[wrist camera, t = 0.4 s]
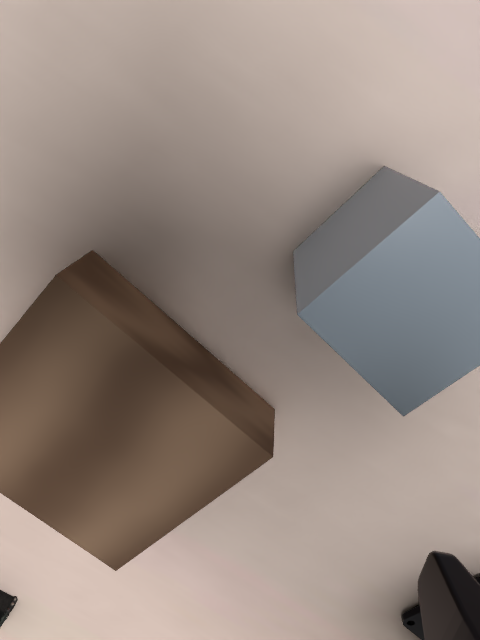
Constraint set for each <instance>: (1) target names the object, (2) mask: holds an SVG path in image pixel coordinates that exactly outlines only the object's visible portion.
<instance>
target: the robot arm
mask: <svg viewBox="0 0 480 640" xmlns="http://www.w3.org/2000/svg"><path fill="white" fill-rule="evenodd" d="M418 595H419V602H420V605H419V606H417V607H415V608H413V609H411V610H409V611H407V612H405V613H403V614H402V616H401V618H402V622H403V625H404V626H405V627H406V628H407V629H409V630H410V631H411V632H413V633H414V634H415V635H416V636H418V637H419V638H420V639H421V640H480V577H478V578H476V579H475V578H474V577H473V576H472V575H471V574H470V573H469V572H468V570H467V569H466V568H465V567H464V566H463V565H462V563H461V562H460V561H459V560H458V559H457V558H456V557H455V556H454V555H452V554H449V553H443V552H437V551H432V552H431V553H429V555H428V557H427V559H426V562H425V564H424V567H423V569H422V571H421V574H420V576H419V579H418Z"/></svg>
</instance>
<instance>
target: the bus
mask: <svg viewBox="0 0 480 640" xmlns="http://www.w3.org/2000/svg"><path fill="white" fill-rule="evenodd" d="M17 600H18V599H17V597H16V596H14V597H13V596H11V595H9V594H7V593H5V592H3V591H1V590H0V627H1V626H2V624H3V622H4V621H5V620H6V619H7V618H6V617H8V616H9V613H10V612H11V611H12V609H13V607H14V606H15V604H16V602H17ZM7 615H8V616H7Z"/></svg>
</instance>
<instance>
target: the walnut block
mask: <svg viewBox="0 0 480 640" xmlns="http://www.w3.org/2000/svg"><path fill="white" fill-rule="evenodd" d="M274 418H275V409H274V408H273V407H272V406H270V405H269V404H268V403H267V402H266V401H265V400H264V399H262V398H261V397H260V396H259V395H258V394H257V393H256V392H254V391H253V390H252V389H251V388H250V387H249V386H248V385H246V384H245V383H244V382H243V381H242V380H241V379H240V378H238V377H237V376H236V375H235V374H234V373H233V372H232V371H230V370H229V369H228V368H227V367H226V366H225V365H224V364H222V363H221V362H220V361H219V360H218V359H217V358H216V357H214V356H213V355H212V354H211V353H210V352H209V351H208V350H206V349H205V348H204V347H203V346H202V345H201V344H200V343H198V342H197V341H196V340H195V339H194V338H193V337H191V336H190V335H189V334H188V333H187V332H186V331H185V330H183V329H182V328H181V327H180V326H179V325H178V324H177V323H175V322H174V321H173V320H172V319H171V318H170V317H169V316H167V315H166V314H165V313H164V312H163V311H162V310H161V309H159V308H158V307H157V306H156V305H155V304H154V303H153V302H151V301H150V300H149V299H148V298H147V297H146V296H145V295H143V294H142V293H141V292H140V291H139V290H138V289H137V288H135V287H134V286H133V285H132V284H131V283H130V282H129V281H127V280H126V279H125V278H124V277H123V276H122V275H121V274H119V273H118V272H117V271H116V270H115V269H114V268H113V267H111V266H110V265H109V264H108V263H107V262H106V261H105V260H103V259H102V258H101V257H100V256H99V255H98V254H97V253H95V252H94V251H93V250H92V251H91V252H89V253H88V254H86V255H85V256H83V257H82V258H80V259H79V260H77V261H76V262H74V263H73V264H71V265H70V266H68V267H67V268H65V269H64V270H63V271H61V272H60V273H58V274H57V275H56V276H55V277H54V278H53V279H52V280H51V282H50V283H49V284H48V285H47V287H46V288H45V289H44V290H43V292H42V293H41V294H40V295H39V297H38V298H37V299H36V300H35V301H34V303H33V304H32V305H31V306H30V308H29V309H28V310H27V311H26V313H25V314H24V315H23V316H22V317H21V319H20V320H19V321H18V322H17V324H16V325H15V326H14V327H13V329H12V330H11V331H10V332H9V334H8V335H7V336H6V337H5V338H4V340H3V341H2V342H1V343H0V493H1V494H3V495H4V496H6V497H7V498H9V499H10V500H12V501H13V502H15V503H16V504H18V505H19V506H21V507H22V508H24V509H25V510H27V511H28V512H30V513H31V514H32V515H34V516H35V517H37V518H38V519H40V520H41V521H43V522H44V523H46V524H47V525H49V526H50V527H52V528H53V529H55V530H56V531H58V532H59V533H61V534H62V535H64V536H65V537H67V538H68V539H69V540H71V541H72V542H74V543H75V544H77V545H78V546H80V547H81V548H83V549H84V550H86V551H87V552H89V553H90V554H92V555H93V556H95V557H96V558H98V559H99V560H101V561H102V562H103V563H105V564H106V565H108V566H109V567H111V568H112V569H114V570H115V571H116V570H118V569H119V568H120V567H122V566H123V565H125V564H126V563H127V562H129V561H130V560H132V559H133V558H134V557H136V556H137V555H138V554H140V553H141V552H143V551H144V550H145V549H147V548H148V547H149V546H151V545H152V544H154V543H155V542H156V541H158V540H159V539H161V538H162V537H163V536H165V535H166V534H167V533H169V532H170V531H172V530H173V529H174V528H176V527H177V526H178V525H180V524H181V523H183V522H184V521H185V520H187V519H188V518H190V517H191V516H192V515H194V514H195V513H196V512H198V511H199V510H201V509H202V508H203V507H205V506H206V505H207V504H209V503H210V502H212V501H213V500H214V499H216V498H217V497H219V496H220V495H221V494H223V493H224V492H225V491H227V490H228V489H230V488H231V487H232V486H234V485H235V484H236V483H238V482H239V481H241V480H242V479H243V478H245V477H246V476H248V475H249V474H250V473H252V472H253V471H254V470H256V469H257V468H259V467H260V466H261V465H263V464H264V463H265V462H267V461H268V460H270V459H271V458H272V457H273V447H274Z"/></svg>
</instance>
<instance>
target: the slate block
mask: <svg viewBox="0 0 480 640" xmlns="http://www.w3.org/2000/svg"><path fill="white" fill-rule="evenodd" d="M293 256H294V272H295V288H296V304H297V315H298V316H299V317H300V318H301V319H302V320H303V321H304V322H305V323H306V324H307V325H309V326H310V327H311V328H312V329H313V330H314V331H315V332H316V333H317V334H318V335H319V336H320V337H321V338H322V339H323V340H324V341H325V342H326V343H327V344H328V345H329V346H330V347H331V348H333V349H334V350H335V351H336V352H337V353H338V354H339V355H340V356H341V357H342V358H343V359H344V360H345V361H346V362H347V363H348V364H349V365H350V366H351V367H352V368H353V369H354V370H355V371H357V372H358V373H359V374H360V375H361V376H362V377H363V378H364V379H365V380H366V381H367V382H368V383H369V384H370V385H371V386H372V387H373V388H374V389H375V390H376V391H377V392H378V393H379V394H380V395H382V396H383V397H384V398H385V399H386V400H387V401H388V402H389V403H390V404H391V405H392V406H393V407H394V408H395V409H396V410H397V411H398V412H399V413H400V414H401V415H402V416H405V415H406V414H408V413H409V412H411V411H412V410H414V409H415V408H417V407H418V406H420V405H421V404H423V403H424V402H426V401H427V400H429V399H430V398H432V397H433V396H435V395H436V394H438V393H439V392H441V391H442V390H444V389H445V388H447V387H448V386H450V385H451V384H453V383H454V382H455V381H457V380H458V379H460V378H461V377H463V376H464V375H466V374H467V373H469V372H470V371H472V370H473V369H475V368H476V367H478V366H479V365H480V238H479V237H478V236H477V235H476V234H475V232H474V231H473V230H472V229H471V228H470V227H469V225H468V224H467V223H466V222H465V221H464V220H463V218H462V217H461V216H460V215H459V214H458V212H457V211H456V210H455V209H454V208H453V207H452V205H451V204H450V203H449V202H448V201H447V200H446V198H445V197H444V196H443V195H442V194H441V192H440V191H437V190H435V189H433V188H431V187H429V186H427V185H424V184H422V183H420V182H418V181H416V180H414V179H412V178H409V177H407V176H405V175H403V174H401V173H399V172H396V171H394V170H392V169H390V168H388V167H386V166H384V167H383V168H382V169H381V170H379V171H378V172H377V173H376V174H375V175H374V176H373V177H372V178H371V179H370V180H369V181H368V182H367V183H366V184H365V185H363V186H362V187H361V188H360V189H359V190H358V191H357V192H356V193H355V194H354V195H353V196H352V197H351V198H350V199H349V200H347V201H346V202H345V203H344V204H343V205H342V206H341V207H340V208H339V209H338V210H337V211H336V212H335V213H334V214H332V215H331V216H330V217H329V218H328V219H327V220H326V221H325V222H324V223H323V224H322V225H321V226H320V227H319V228H318V229H316V230H315V231H314V232H313V233H312V234H311V235H310V236H309V237H308V238H307V239H306V240H305V241H304V242H303V243H302V244H300V245H299V246H298V247H297V248H296V249H295V250H294V251H293Z"/></svg>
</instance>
